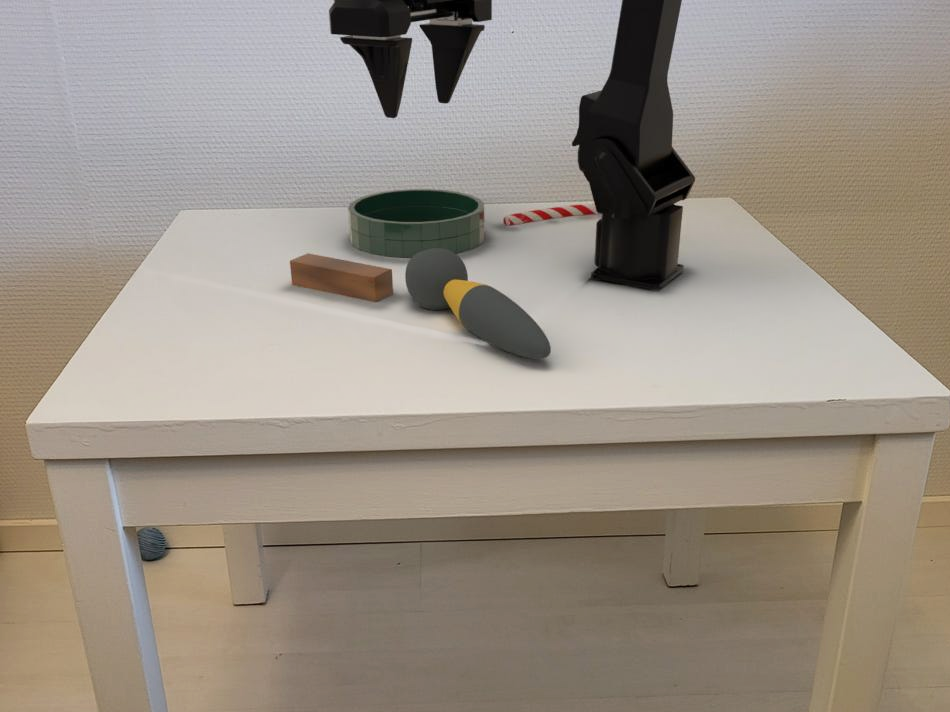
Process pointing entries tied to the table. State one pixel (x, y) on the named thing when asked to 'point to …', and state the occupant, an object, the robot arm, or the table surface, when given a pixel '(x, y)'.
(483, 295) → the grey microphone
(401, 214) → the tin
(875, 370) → the table surface
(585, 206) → the candy cane
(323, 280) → the block
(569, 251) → the table surface
